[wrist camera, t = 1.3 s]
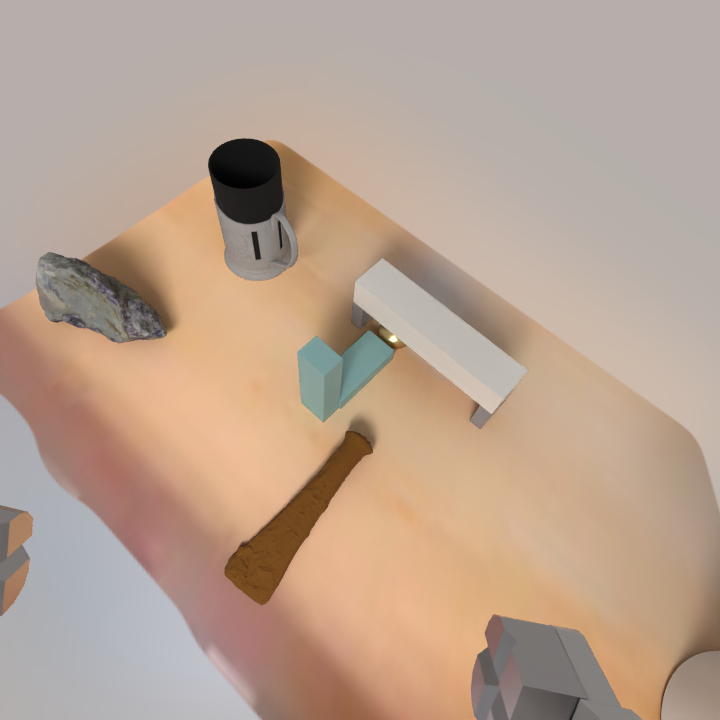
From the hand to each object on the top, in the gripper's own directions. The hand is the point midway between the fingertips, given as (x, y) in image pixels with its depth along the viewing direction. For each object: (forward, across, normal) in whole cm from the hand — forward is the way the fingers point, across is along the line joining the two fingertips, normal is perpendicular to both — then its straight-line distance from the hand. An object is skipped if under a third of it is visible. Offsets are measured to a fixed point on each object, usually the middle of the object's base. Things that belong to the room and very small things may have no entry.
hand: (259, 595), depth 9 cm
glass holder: (+62, -12, -1) cm, 63 cm away
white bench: (+54, +10, -7) cm, 56 cm away
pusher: (+52, +1, -10) cm, 53 cm away
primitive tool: (+42, 0, -23) cm, 48 cm away
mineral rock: (+54, -28, -11) cm, 62 cm away
